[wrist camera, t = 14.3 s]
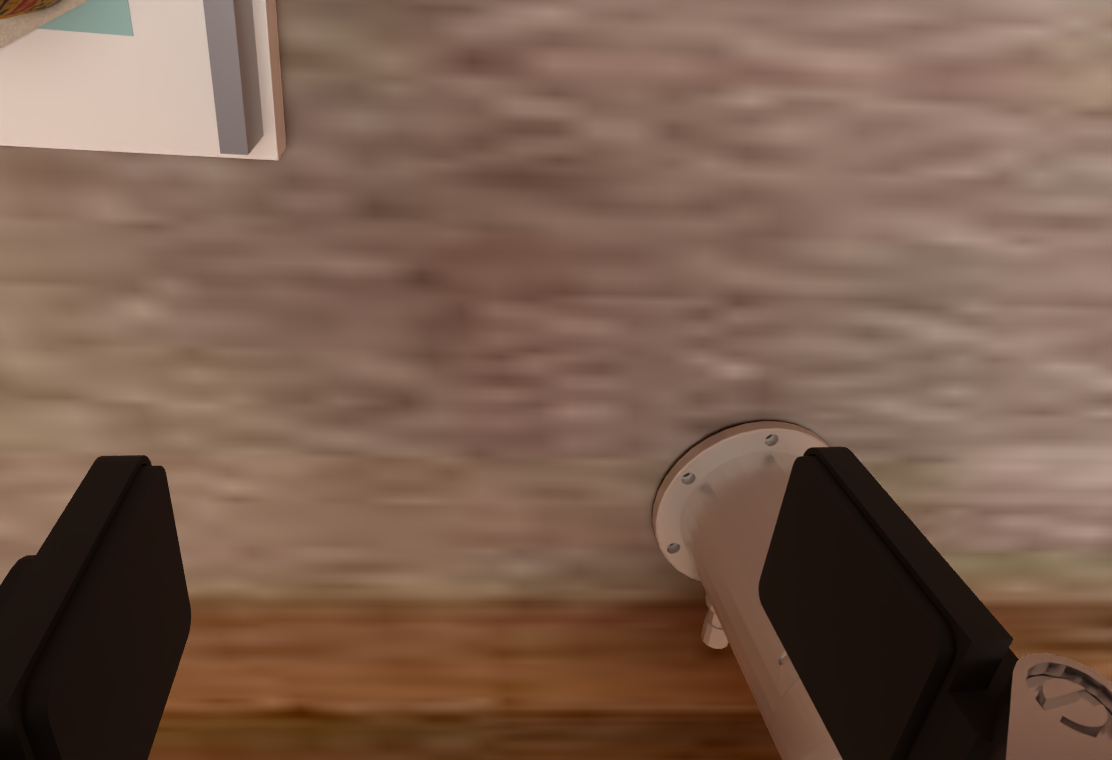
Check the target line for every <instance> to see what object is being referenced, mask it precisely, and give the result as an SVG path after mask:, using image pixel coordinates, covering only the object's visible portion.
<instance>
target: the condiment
mask: <svg viewBox="0 0 1112 760" xmlns="http://www.w3.org/2000/svg"><path fill="white" fill-rule="evenodd" d="M87 1H88V0H0V48H2V47H4V46H6V45H7V44H10V43H12V42H13V41H15V40H17V39H19V38H20V37H22V36H24V35H26V34H28V33H30V32H32V31H33V30H35V29H37V28H39V27H41V26H43V25H44V24H46V23H48V22H50V21H52V20H54V19H56V18H57V17H59V16H61V15H63V14H65V13H66V12H68V11H70V10H72V9H74V8H76V7H77V6H79V5H81V4H83V3H85V2H87Z"/></svg>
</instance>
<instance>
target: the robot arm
mask: <svg viewBox="0 0 1112 760" xmlns="http://www.w3.org/2000/svg"><path fill="white" fill-rule="evenodd" d="M652 522H653V528H654V534H655V537H656V539H657V542H658V545H659V547H660V550H661V551H662V553H663V555H664V556H665V558H666V559H667V561H668V562H669V563H670V564H671V565H672V566H673V567H674V568H675V569H676V570H677V571H679V572H681V573H682V574H684V575H686V576H687V577H689V578H692V579H694V580H697V581H700V582H702V584H703V587H704V589H705V591H706V597H705V600H706V605H707V606H708V607H709V609H708V612H707V613H706V616H705V620H704V624H703V628H702V632H701V638H702V640H703V642H704V643H705V644H706V645H707V646H709V647H712V648H714V649H722V648H725V647H727V645H728V643H729V644H730V646H731V648H732V651H733V653H734V655H735V657H736V659H737V662H738V664H739V666H740V668H741V671H742V673H743V675H744V677H745V679H746V682H747V684H748V686H749V688H750V691H751V693H752V695H753V697H754V699H755V702H756V704H757V706H758V708H759V711H760V713H761V715H762V717H763V719H764V722H765V724H766V726H767V728H768V730H769V733H770V735H771V737H772V739H773V741H774V743H775V746H776V748H777V750H778V752H779V754H780V757H781V759H782V760H1112V682H1111V681H1109V680H1108V679H1106V678H1105V677H1103V676H1102V675H1101V674H1099V673H1098V672H1096V671H1095V670H1093V669H1091V668H1089V667H1087V666H1085V665H1083V664H1081V663H1079V662H1077V661H1074V660H1071V659H1068V658H1065V657H1062V656H1059V655H1053V654H1045V653H1036V654H1030V655H1026V656H1024V657H1023V658H1021V659H1020V660H1019V659H1018V658H1017V657H1016V656H1015V655H1014V653H1013V652H1012V651H1011V650H1010V649H1009V646H1010V644H1011V642H1012V640H1013V638H1012V637H1011V636H1010V635H1009V633H1008V632H1007V631H1006V630H1005V629H1004V628H1003V627H1002V625H1001V624H1000V623H999V622H998V621H997V620H996V618H995V617H994V616H993V615H992V614H991V613H990V611H989V610H988V609H987V608H986V607H985V606H984V605H983V603H982V602H981V601H980V600H979V599H978V598H977V596H976V595H975V594H974V593H973V592H972V591H971V589H970V588H969V587H968V586H967V585H966V584H965V583H964V581H963V580H962V579H961V578H960V577H959V576H958V574H957V573H956V572H955V571H954V570H953V569H952V567H951V566H950V565H949V564H948V563H947V562H946V561H945V559H944V558H943V557H942V556H941V555H940V554H939V552H938V551H937V550H936V549H935V548H934V547H933V545H932V544H931V543H930V542H929V541H928V540H927V539H926V537H925V536H924V535H923V534H922V533H921V532H920V530H919V529H918V528H917V527H916V526H915V525H914V523H913V522H912V521H911V520H910V519H909V518H908V517H907V515H906V514H905V513H904V512H903V511H902V510H901V508H900V507H899V506H898V505H897V504H896V503H895V501H894V500H893V499H892V498H891V497H890V496H889V495H888V493H887V492H886V491H885V490H884V489H883V488H882V486H881V485H880V484H879V483H878V482H877V481H876V479H875V478H874V477H873V476H872V475H871V474H870V473H869V471H868V470H867V469H866V468H865V467H864V466H863V464H862V463H861V462H860V461H859V460H858V459H857V457H856V456H855V455H854V454H853V453H852V452H851V451H850V450H849V449H848V448H845V447H829V446H828V445H827V444H826V443H825V441H823V440H822V439H821V438H820V437H818V436H817V435H816V434H815V433H813V432H811V431H809V430H807V429H805V428H803V427H801V426H798V425H794V424H790V423H785V422H774V421H761V422H754V423H746V424H742V425H739V426H735V427H732V428H729V429H726V430H724V431H721V432H719V433H717V434H715V435H713V436H711V437H709V438H707V439H705V440H704V441H702V442H701V443H699V444H698V445H696V446H695V447H693V448H692V449H691V450H690V451H689V452H687V453H686V454H685V455H684V456H683V457H682V458H681V459H680V460H679V461H678V462H677V463H676V464H675V465H674V467H673V468H672V469H671V470H670V472H669V473H668V474H667V475H666V477H665V479H664V481H663V483H662V485H661V486H660V488H659V490H658V493H657V496H656V499H655V503H654V506H653V518H652ZM190 624H191V608H190V602H189V597H188V591H187V586H186V580H185V575H184V569H183V564H182V558H181V553H180V547H179V542H178V536H177V531H176V526H175V520H174V515H173V509H172V504H171V498H170V493H169V487H168V482H167V476H166V472H165V469H164V468H163V467H162V466H152V465H151V462H150V460H149V458H148V457H147V456H145V455H137V456H101V457H98V458H97V459H96V460H95V462H94V463H93V465H92V466H91V468H90V470H89V471H88V473H87V474H86V476H85V478H84V479H83V481H82V482H81V484H80V486H79V487H78V489H77V490H76V492H75V494H74V495H73V497H72V498H71V500H70V502H69V503H68V505H67V506H66V508H65V510H64V511H63V513H62V514H61V516H60V518H59V519H58V521H57V522H56V524H55V526H54V527H53V529H52V530H51V532H50V534H49V535H48V537H47V538H46V540H45V542H44V543H43V545H42V546H41V548H40V550H39V551H38V553H37V555H29V556H25V557H23V558H21V559H19V560H18V561H17V562H16V564H15V565H14V566H13V567H12V568H11V570H10V571H9V573H8V574H7V576H6V577H5V579H4V580H3V582H2V584H1V585H0V760H147V759H148V756H149V753H150V750H151V747H152V744H153V741H154V738H155V735H156V732H157V729H158V726H159V723H160V720H161V717H162V714H163V711H164V708H165V705H166V702H167V699H168V696H169V693H170V690H171V687H172V684H173V681H174V678H175V675H176V672H177V669H178V666H179V662H180V659H181V656H182V653H183V650H184V647H185V644H186V641H187V638H188V635H189V631H190Z"/></svg>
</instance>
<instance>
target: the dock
mask: <svg viewBox="0 0 1112 760" xmlns="http://www.w3.org/2000/svg"><path fill="white" fill-rule="evenodd" d="M0 145H4V146H22V147H41V148H59V149H78V150H96V151H115V152H133V153H152V154H171V155H189V156H208V157H226V158H245V159H263V160H279V158H280V156H281V155H282V153H283V152H284V150H285V149H286V135H285V121H284V108H283V94H282V80H281V67H280V53H279V39H278V26H277V12H276V0H88V1H87V2H85V3H83V4H81V5H79V6H77V7H76V8H74V9H72V10H70V11H68V12H66V13H65V14H63V15H61V16H59V17H57V18H56V19H54V20H52V21H50V22H48V23H46V24H44V25H43V26H41V27H39V28H37V29H35V30H33V31H32V32H30V33H28V34H26V35H24V36H22V37H20V38H19V39H17V40H15V41H13V42H12V43H10V44H7V45H6V46H4V47H2V48H0Z"/></svg>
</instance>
